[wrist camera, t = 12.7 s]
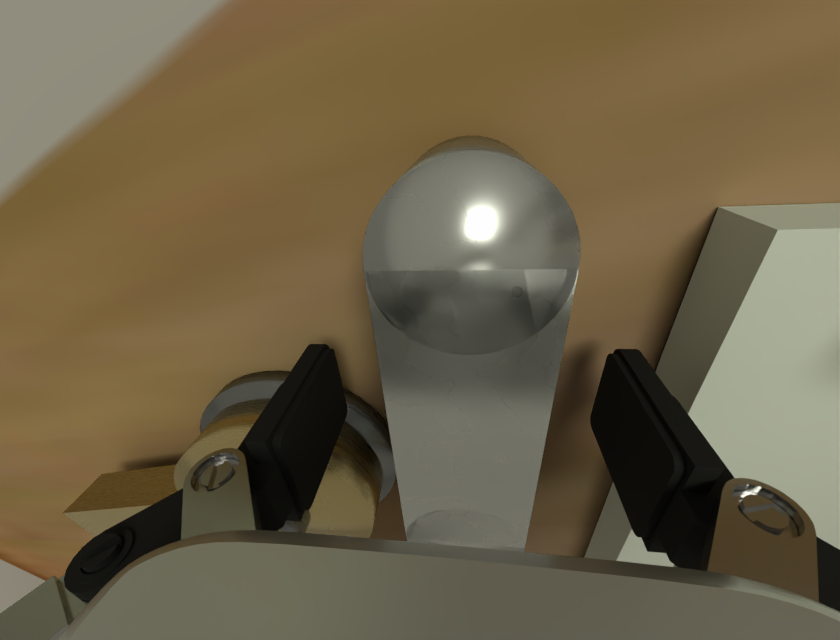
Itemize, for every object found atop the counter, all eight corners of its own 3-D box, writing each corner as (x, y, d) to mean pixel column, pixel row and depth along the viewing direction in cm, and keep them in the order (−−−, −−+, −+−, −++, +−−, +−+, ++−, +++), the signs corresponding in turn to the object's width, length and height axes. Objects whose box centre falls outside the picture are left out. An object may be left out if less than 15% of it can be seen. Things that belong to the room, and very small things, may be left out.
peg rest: (718, 206, 9) (947, 295, 5) (1102, 194, 8) (1847, 293, 4) (579, 569, 19) (611, 698, 15) (737, 584, 18) (818, 728, 14)
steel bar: (422, 470, 16) (410, 564, 13) (390, 140, 9) (345, 159, 6) (507, 475, 16) (519, 575, 12) (548, 130, 8) (602, 144, 5)
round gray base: (179, 367, 14) (165, 380, 14) (387, 374, 13) (383, 388, 13) (248, 493, 19) (240, 507, 18) (406, 505, 18) (404, 521, 17)
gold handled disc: (336, 384, 12) (296, 468, 9) (408, 509, 16) (395, 596, 13) (57, 434, 16) (-31, 504, 13) (168, 525, 20) (118, 596, 17)
